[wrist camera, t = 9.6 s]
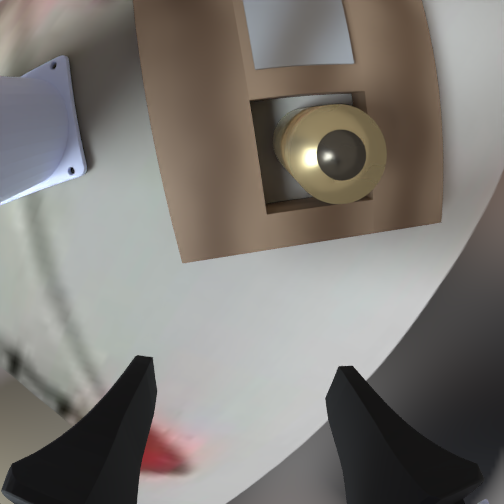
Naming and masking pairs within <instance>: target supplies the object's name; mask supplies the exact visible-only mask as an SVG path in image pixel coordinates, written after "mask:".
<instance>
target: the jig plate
mask: <svg viewBox="0 0 504 504" xmlns="http://www.w3.org/2000/svg"><path fill="white" fill-rule="evenodd" d="M133 7H134V16H135V25H136V34H137V42H138V49H139V56H140V63H141V70H142V77H143V83H144V89H145V95H146V101H147V107H148V113H149V118H150V124H151V129H152V134H153V139H154V144H155V149H156V154H157V159H158V164H159V168H160V173H161V178H162V182H163V187H164V191H165V195H166V200H167V204H168V208H169V212H170V216H171V220H172V225H173V229H174V233H175V236H176V240H177V244H178V248H179V252H180V256H181V259H182V263H188V262H194V261H200V260H207V259H213V258H219V257H226V256H232V255H238V254H245V253H251V252H258V251H264V250H270V249H277V248H283V247H289V246H296V245H302V244H308V243H315V242H321V241H327V240H334V239H340V238H346V237H353V236H359V235H365V234H371V233H378V232H384V231H390V230H397V229H403V228H409V227H416V226H422V225H428V224H435V223H441V218H442V200H443V137H442V119H441V107H440V97H439V88H438V80H437V72H436V66H435V59H434V54H433V48H432V43H431V38H430V33H429V28H428V24H427V20H426V15H425V11H424V7H423V4H422V0H133ZM350 93H351V94H352V101H353V107H355V108H358V109H360V110H362V111H363V112H365V113H366V114H368V115H369V116H370V117H371V118H372V119H373V120H374V121H375V122H376V124H377V125H378V127H379V128H380V130H381V132H382V134H383V136H384V140H385V143H386V150H387V159H386V165H385V169H384V172H383V175H382V177H381V179H380V181H379V182H378V184H377V185H376V186H375V188H374V189H373V190H372V191H371V192H370V193H368V194H367V195H366V196H364V197H363V198H361V199H359V200H357V201H354V202H351V203H347V204H331V203H327V202H323V201H321V200H318V199H316V198H315V197H311V198H304V199H297V200H290V201H283V202H276V203H269V204H265V199H264V192H263V186H262V179H261V172H260V165H259V159H258V152H257V146H256V139H255V133H254V126H253V120H252V113H251V107H250V102H253V101H261V100H269V99H277V98H287V97H298V96H310V95H326V94H350Z"/></svg>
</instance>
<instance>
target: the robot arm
mask: <svg viewBox="0 0 504 504" xmlns="http://www.w3.org/2000/svg"><path fill="white" fill-rule="evenodd" d="M55 63H56V64H57V66H56V68H55V69H53V66H54V64H55ZM71 167H73V168H74V170H75V173H74V174H73V173H72V172H71ZM86 171H87V164H86V160H85V156H84V151H83V146H82V142H81V137H80V131H79V126H78V121H77V115H76V109H75V103H74V96H73V89H72V82H71V74H70V65H69V59H68V57H67V56H63V55H61V56H58V57H56V58H54V59H52V60H50V61H48V62H46V63H44V64H42V65H40V66H39V67H37V68H35V69H33V70H31V71H29V72H28V73H26V74H24V75H22V76H21V77H9V76H0V205H3V204H5V203H8V202H10V201H13V200H15V199H18V198H20V197H23V196H26V195H28V194H31V193H34V192H36V191H39V190H42V189H45V188H47V187H50V186H53V185H56V184H59V183H62V182H65V181H68V180H71V179H74V178H77V177H80V176H82V175H84V174H85V173H86ZM156 396H157V387H156V380H155V373H154V365H153V357H146V356H139V355H137V356H136V357H134V359H133V360H132V362H131V363H130V364H129V366H128V367H127V369H126V370H125V371H124V373H123V374H122V375H121V376H120V378H119V379H118V380H117V382H116V383H115V384H114V385H113V386H112V388H111V389H110V390H109V391H108V392H107V393H106V395H105V396H104V397H103V398H102V399H101V400H100V401H99V402H98V403H97V404H96V405H95V406H94V408H93V409H92V410H91V411H90V412H89V413H88V414H87V415H85V416H84V417H83V418H82V419H81V420H80V421H79V422H78V423H77V424H75V425H74V426H73V427H72V428H70V429H69V430H68V431H67V432H65V433H64V434H63V435H62V436H60V437H59V438H57V439H56V440H54V441H53V442H51V443H50V444H48V445H47V446H45V447H43V448H42V449H41V450H39V451H37V452H35V453H34V454H31V455H29V456H28V457H25V458H23V459H21V460H19V461H17V462H15V463H12V465H11V467H10V469H9V471H8V474H7V476H6V478H5V481H4V484H3V487H2V490H1V491H2V493H3V495H4V496H5V497H6V498H8V499H9V500H10V501H12V502H13V503H14V504H137V495H138V484H139V475H140V467H141V462H142V458H143V454H144V450H145V446H146V442H147V438H148V434H149V431H150V427H151V423H152V419H153V415H154V410H155V403H156ZM325 400H326V407H327V414H328V420H329V423H330V427H331V431H332V434H333V437H334V441H335V444H336V447H337V451H338V455H339V458H340V462H341V466H342V470H343V476H344V482H345V490H346V500H347V504H465V503H464V500H463V498H465V497H466V496H467V495H469V494H470V493H471V492H473V491H474V490H475V489H476V488H478V487H479V486H480V485H481V484H482V483H483V481H484V477H483V475H482V473H481V471H480V468H479V466H478V465H477V464H476V463H474V462H471V461H469V460H466V459H464V458H461V457H458V456H456V455H455V454H452V453H451V452H449V451H447V450H445V449H443V448H441V447H440V446H438V445H436V444H435V443H433V442H432V441H430V440H429V439H427V438H425V437H424V436H423V435H421V434H420V433H419V432H417V431H416V430H415V429H413V428H412V427H411V426H410V425H408V424H407V423H406V422H405V421H404V420H403V419H402V418H401V417H399V416H398V415H397V414H396V413H395V412H394V411H393V410H392V409H391V408H390V407H389V406H388V405H387V404H386V403H385V402H384V401H383V399H382V398H381V397H380V396H379V395H378V394H377V393H376V392H375V391H374V390H373V389H372V387H371V386H370V385H369V384H368V383H367V382H366V381H365V379H364V378H363V377H362V376H361V375H360V374H359V373H358V371H357V370H356V369H355V368H354V367H353V366H339V367H338V369H337V372H336V374H335V377H334V379H333V382H332V384H331V386H330V389H329V391H328V393H327V396H326V398H325ZM478 504H489V502H488V500H487V499H485V500H483V501H481V502H480V503H478Z"/></svg>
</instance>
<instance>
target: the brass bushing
mask: <svg viewBox="0 0 504 504" xmlns="http://www.w3.org/2000/svg"><path fill="white" fill-rule="evenodd" d="M273 149H274V152H275V155H276V157H277V159H278V161H279V162H280V163H281V164H282V166H283V167H284V168H285V169H286V170H287V171H288V172H289V173H290V174H291V175H292V176H293V177H294V178H295V180H296V181H297V182H298V183H299V184H300V185H301V186H302V187H303V188H304V189H305V190H306V191H307V192H308V193H309V194H310V195H312V196H313V197H315V198H316V199H318V200H321V201H323V202H327V203H331V204H347V203H351V202H354V201H357V200H359V199H361V198H363V197H364V196H366V195H367V194H368V193H370V192H371V191H372V190H373V189H374V188H375V186H376V185H377V184H378V182H379V181H380V179H381V177H382V175H383V172H384V169H385V165H386V159H387V150H386V143H385V140H384V136H383V134H382V132H381V130H380V128H379V127H378V125H377V124H376V122H375V121H374V120H373V119H372V118H371V117H370V116H369V115H368V114H366V113H365V112H363V111H362V110H360V109H358V108H355V107H353V106H349V105H344V104H332V105H323V106H315V107H308V108H301V109H297V110H294V111H292V112H290V113H288V114H287V115H285V116H284V117H283V118H282V119H281V120H280V121H279V123H278V124H277V126H276V128H275V131H274V134H273Z"/></svg>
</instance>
